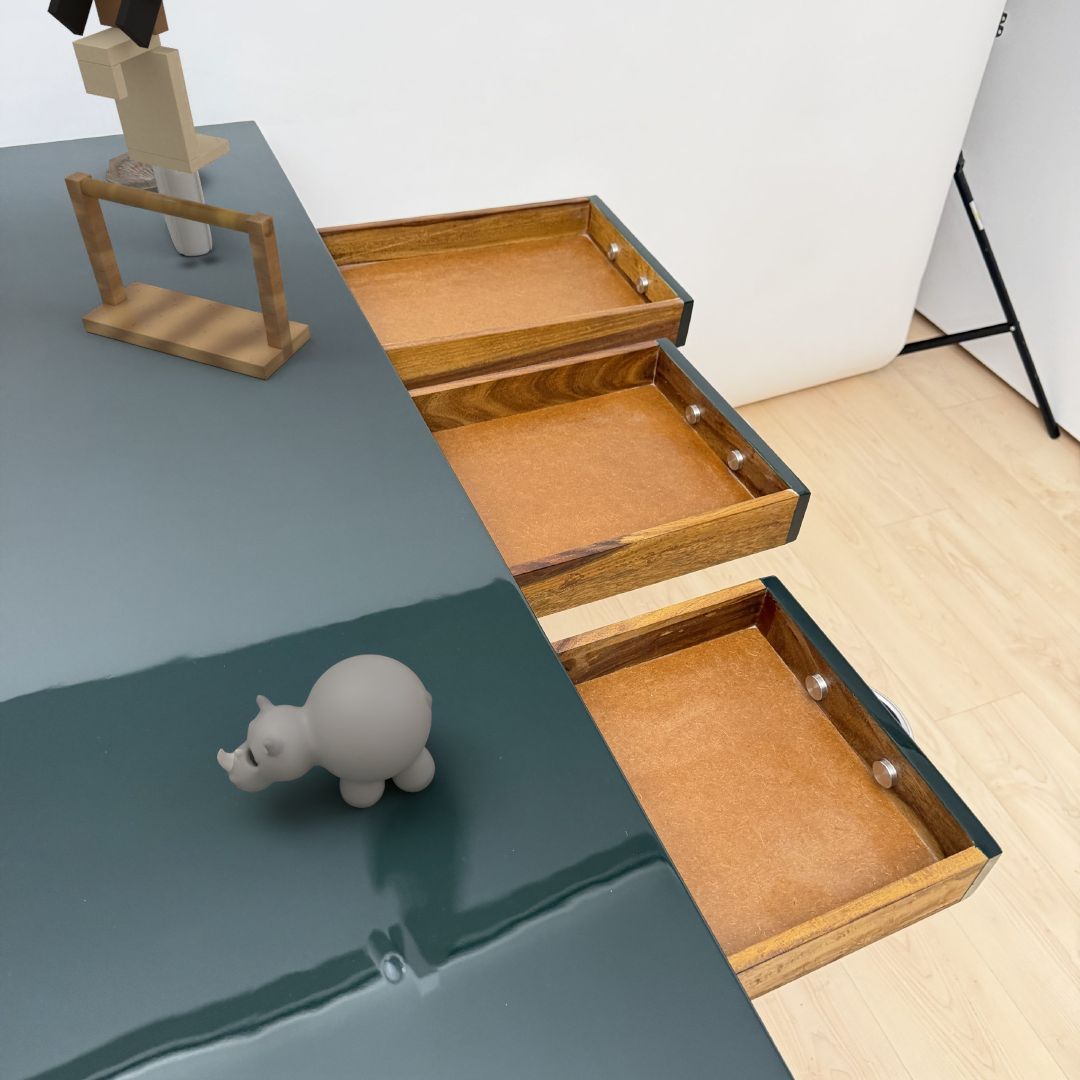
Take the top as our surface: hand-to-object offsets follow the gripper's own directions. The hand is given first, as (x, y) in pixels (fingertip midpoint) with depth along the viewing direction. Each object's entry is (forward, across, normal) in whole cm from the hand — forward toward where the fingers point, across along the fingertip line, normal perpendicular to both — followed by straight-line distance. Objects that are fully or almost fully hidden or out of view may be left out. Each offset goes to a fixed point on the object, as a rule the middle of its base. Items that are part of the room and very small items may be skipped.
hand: (98, 29), depth 64 cm
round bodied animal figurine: (+43, -34, +3) cm, 55 cm away
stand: (+17, +2, -23) cm, 29 cm away
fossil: (-2, +27, -42) cm, 50 cm away
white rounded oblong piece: (+5, +15, -35) cm, 39 cm away
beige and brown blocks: (+5, 0, -10) cm, 11 cm away
